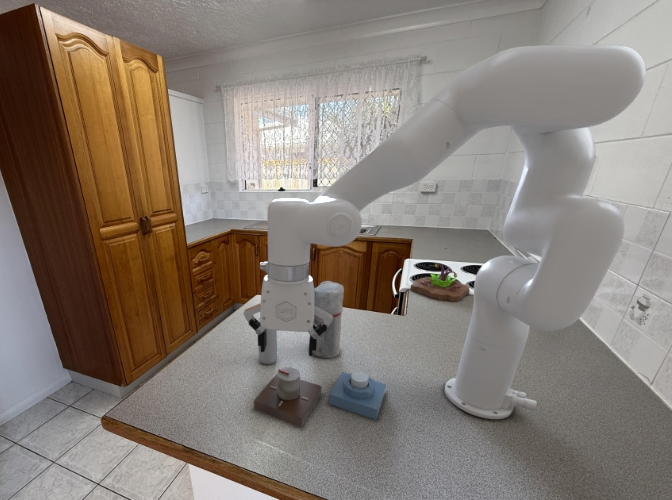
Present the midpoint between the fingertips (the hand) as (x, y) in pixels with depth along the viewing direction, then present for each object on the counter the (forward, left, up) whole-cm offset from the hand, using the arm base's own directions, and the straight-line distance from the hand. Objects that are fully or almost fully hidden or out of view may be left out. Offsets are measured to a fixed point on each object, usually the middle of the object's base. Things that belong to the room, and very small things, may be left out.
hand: (286, 350), depth 63 cm
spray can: (0, -23, -13) cm, 27 cm away
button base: (-13, -8, -13) cm, 20 cm away
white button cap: (-13, -8, -9) cm, 18 cm away
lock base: (0, 0, -13) cm, 13 cm away
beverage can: (+12, -12, -13) cm, 21 cm away
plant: (-26, -87, -13) cm, 92 cm away
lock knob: (0, 0, -11) cm, 11 cm away
